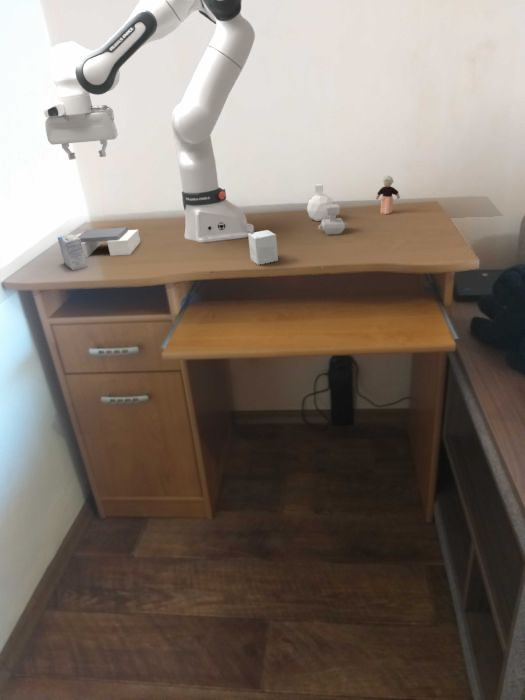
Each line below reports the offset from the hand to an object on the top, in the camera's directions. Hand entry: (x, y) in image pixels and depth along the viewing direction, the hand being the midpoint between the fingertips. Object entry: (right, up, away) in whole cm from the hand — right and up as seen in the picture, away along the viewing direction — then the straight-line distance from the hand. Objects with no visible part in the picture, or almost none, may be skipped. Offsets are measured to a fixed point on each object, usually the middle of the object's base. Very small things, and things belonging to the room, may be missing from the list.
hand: (87, 158), depth 158 cm
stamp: (+74, -22, +2) cm, 78 cm away
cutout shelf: (+4, -28, +4) cm, 28 cm away
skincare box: (+53, -34, -15) cm, 65 cm away
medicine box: (-1, -34, -7) cm, 35 cm away
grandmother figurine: (+94, -13, +17) cm, 97 cm away
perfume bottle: (+72, -16, +16) cm, 75 cm away
